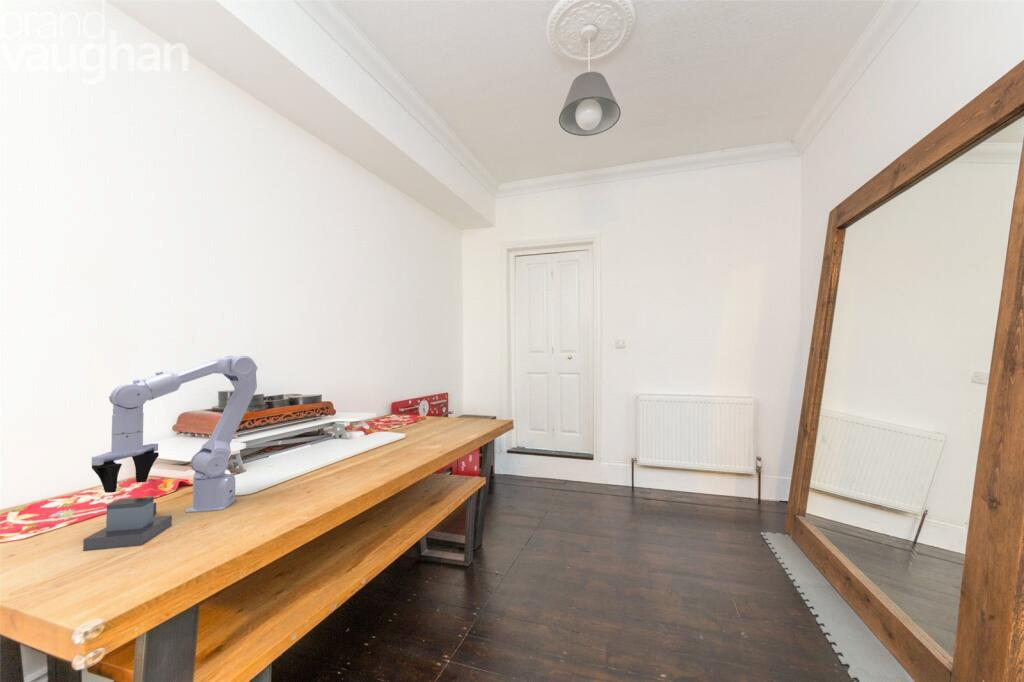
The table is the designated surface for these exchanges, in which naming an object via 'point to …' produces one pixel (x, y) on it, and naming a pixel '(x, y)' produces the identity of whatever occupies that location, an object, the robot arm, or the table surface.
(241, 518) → the table surface
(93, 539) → the stand
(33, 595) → the table surface
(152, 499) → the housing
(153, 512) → the rubber block
